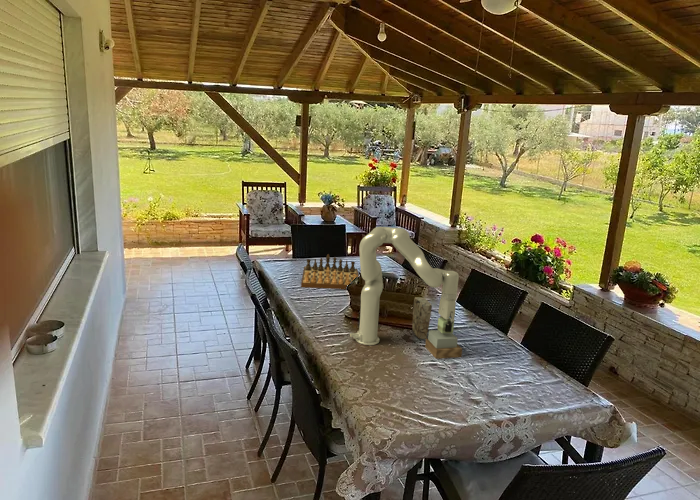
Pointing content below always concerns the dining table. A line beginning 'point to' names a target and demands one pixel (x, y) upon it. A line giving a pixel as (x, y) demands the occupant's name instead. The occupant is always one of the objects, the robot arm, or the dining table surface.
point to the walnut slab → (443, 351)
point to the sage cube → (443, 325)
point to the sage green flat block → (442, 339)
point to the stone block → (421, 317)
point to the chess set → (328, 275)
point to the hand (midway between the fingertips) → (445, 328)
